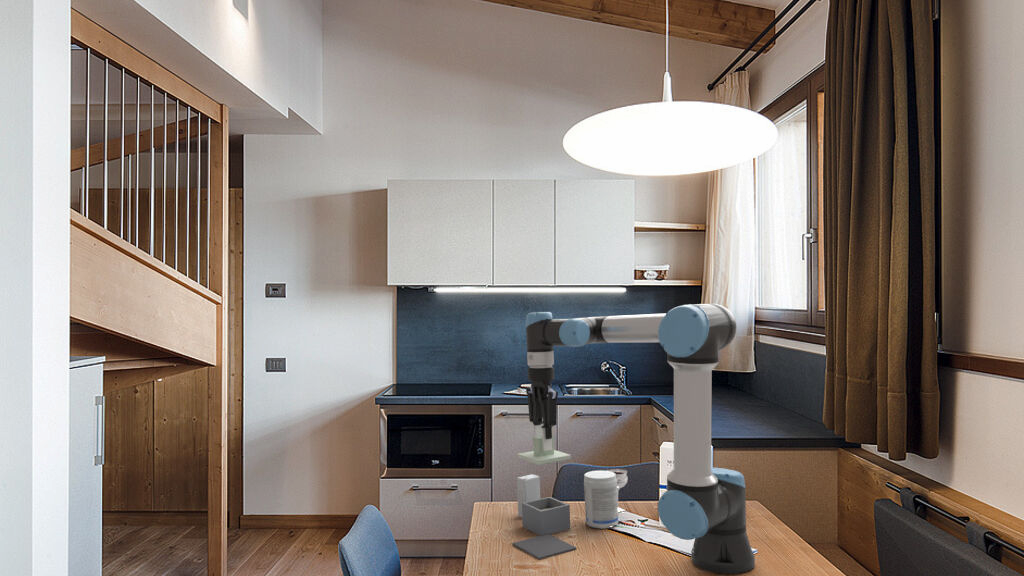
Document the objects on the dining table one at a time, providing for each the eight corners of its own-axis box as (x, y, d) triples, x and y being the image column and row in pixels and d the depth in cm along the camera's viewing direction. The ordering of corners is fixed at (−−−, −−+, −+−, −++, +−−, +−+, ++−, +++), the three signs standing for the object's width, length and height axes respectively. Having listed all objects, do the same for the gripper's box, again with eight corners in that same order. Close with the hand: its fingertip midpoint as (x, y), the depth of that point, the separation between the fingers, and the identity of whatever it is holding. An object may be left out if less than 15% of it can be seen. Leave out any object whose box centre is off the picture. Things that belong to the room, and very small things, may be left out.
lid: (571, 461, 194) (570, 437, 194) (538, 467, 188) (537, 442, 188) (549, 454, 203) (548, 431, 203) (517, 460, 198) (516, 436, 198)
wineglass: (623, 515, 210) (622, 475, 210) (603, 511, 214) (602, 473, 214) (631, 508, 216) (630, 470, 216) (611, 505, 219) (610, 468, 219)
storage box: (570, 529, 199) (569, 504, 199) (541, 536, 194) (541, 511, 194) (550, 520, 207) (549, 496, 207) (522, 526, 202) (521, 502, 202)
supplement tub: (625, 523, 202) (623, 473, 202) (604, 532, 196) (603, 480, 196) (599, 516, 209) (597, 468, 209) (578, 524, 203) (577, 474, 203)
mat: (576, 549, 183) (576, 547, 183) (539, 559, 177) (539, 557, 177) (548, 535, 194) (548, 533, 194) (512, 544, 188) (512, 542, 188)
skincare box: (532, 512, 215) (531, 473, 216) (541, 515, 212) (540, 476, 212) (517, 516, 212) (515, 476, 212) (526, 520, 208) (524, 479, 208)
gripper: (514, 365, 201) (517, 446, 201) (545, 369, 187) (548, 456, 187) (536, 363, 205) (539, 442, 204) (567, 367, 191) (570, 452, 191)
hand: (543, 448), depth 196 cm, fingers closed on lid, 3 cm apart
